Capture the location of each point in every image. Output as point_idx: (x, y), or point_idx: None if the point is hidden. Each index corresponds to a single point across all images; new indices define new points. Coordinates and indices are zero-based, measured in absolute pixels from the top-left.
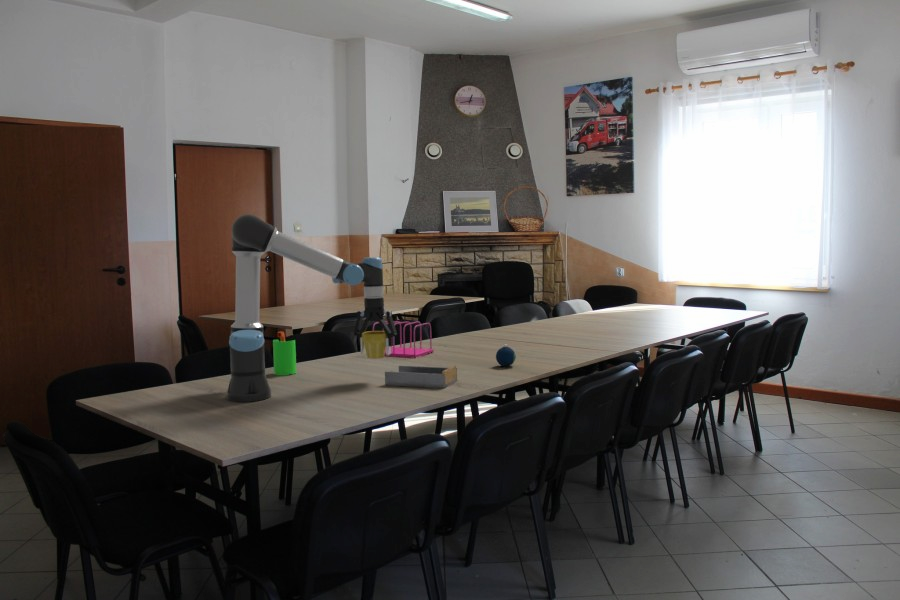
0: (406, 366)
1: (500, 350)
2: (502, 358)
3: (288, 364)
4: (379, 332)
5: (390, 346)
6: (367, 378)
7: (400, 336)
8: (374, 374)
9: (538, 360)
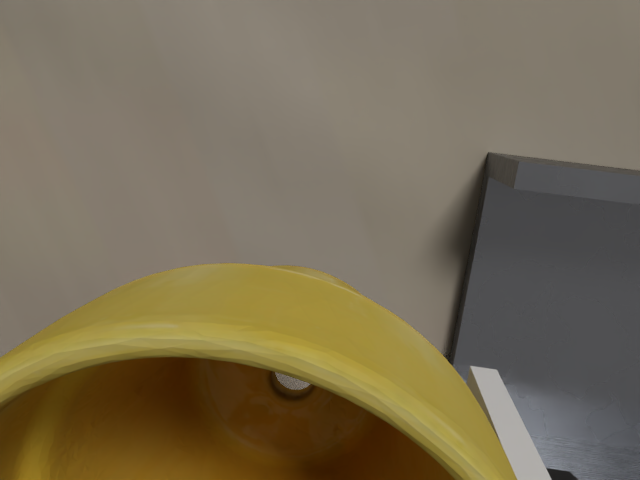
0: (607, 200)
1: None
2: None
3: None
4: (210, 351)
5: (523, 440)
6: (211, 198)
7: None
8: (202, 7)
9: None
